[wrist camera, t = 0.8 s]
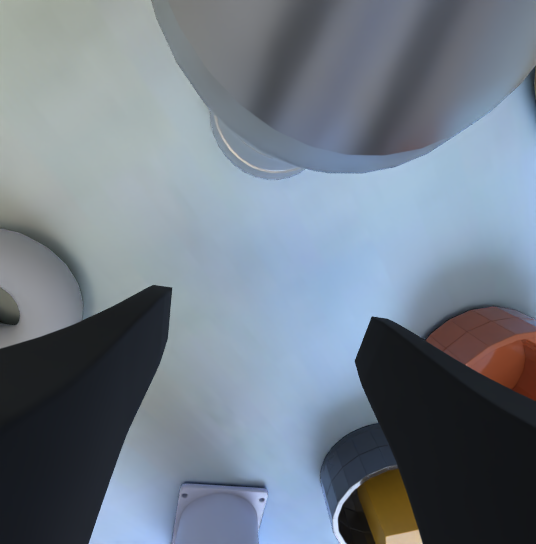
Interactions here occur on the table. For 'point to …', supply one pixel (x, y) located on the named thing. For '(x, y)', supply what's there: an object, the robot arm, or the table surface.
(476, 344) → the bowl
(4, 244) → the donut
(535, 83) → the ceramic vessel
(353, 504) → the pot
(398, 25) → the silver bottle
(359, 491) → the block
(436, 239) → the table surface
